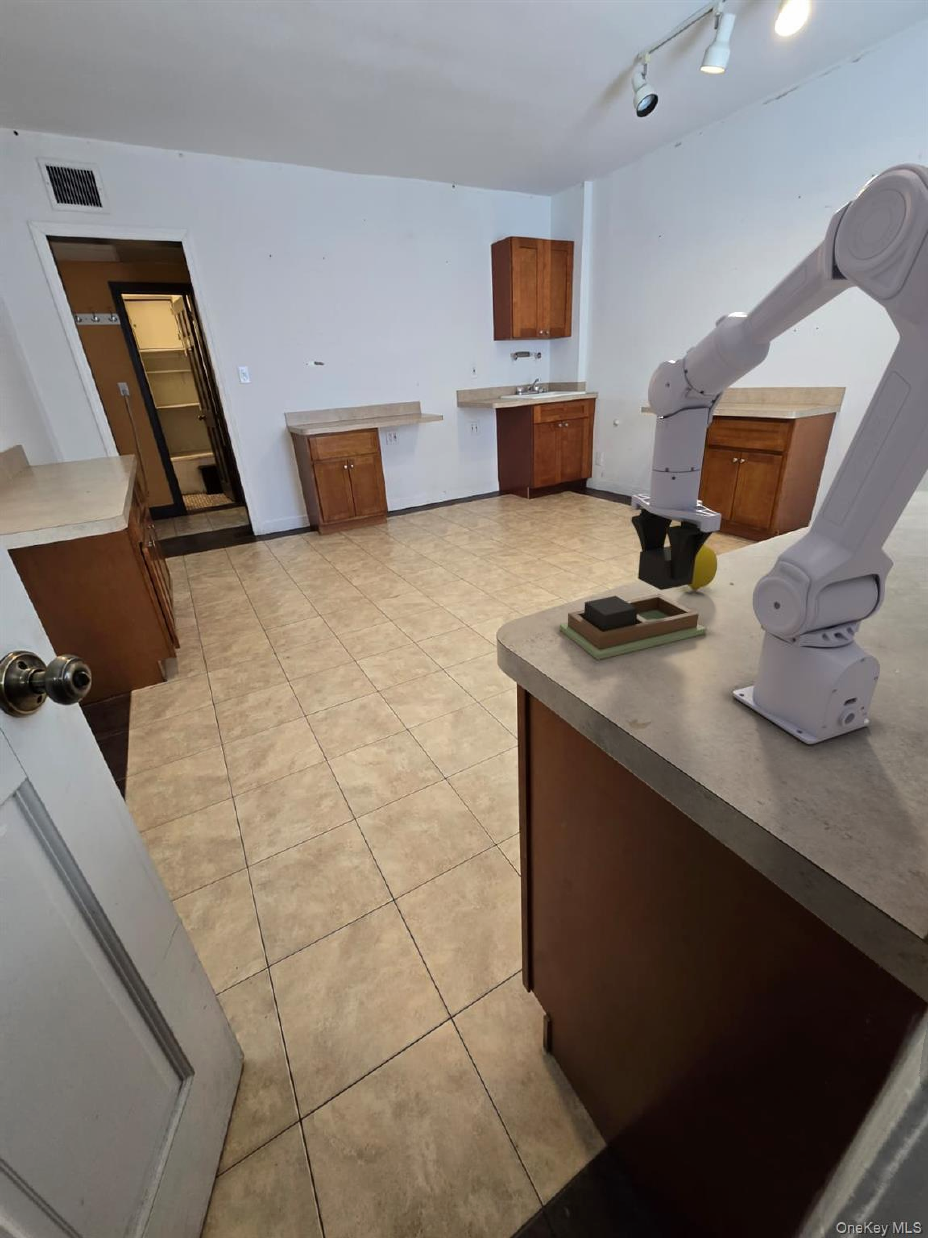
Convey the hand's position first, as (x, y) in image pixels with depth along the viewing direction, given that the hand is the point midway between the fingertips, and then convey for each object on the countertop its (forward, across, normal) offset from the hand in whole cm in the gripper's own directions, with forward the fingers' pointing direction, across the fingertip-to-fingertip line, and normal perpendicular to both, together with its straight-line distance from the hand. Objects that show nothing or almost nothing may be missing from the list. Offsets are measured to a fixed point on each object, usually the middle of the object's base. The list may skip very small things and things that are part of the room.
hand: (665, 571), depth 69 cm
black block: (+1, 0, 0) cm, 1 cm away
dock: (+8, 0, +5) cm, 9 cm away
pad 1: (+7, 0, +8) cm, 11 cm away
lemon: (+8, +8, -13) cm, 18 cm away
